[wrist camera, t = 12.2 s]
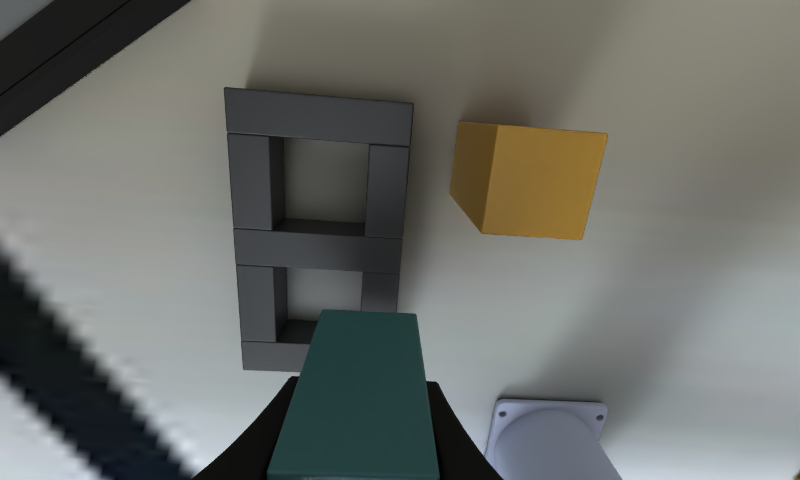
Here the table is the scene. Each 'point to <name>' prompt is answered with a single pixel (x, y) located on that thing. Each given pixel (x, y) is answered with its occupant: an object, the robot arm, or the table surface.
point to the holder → (309, 239)
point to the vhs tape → (63, 45)
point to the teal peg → (359, 404)
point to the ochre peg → (526, 178)
